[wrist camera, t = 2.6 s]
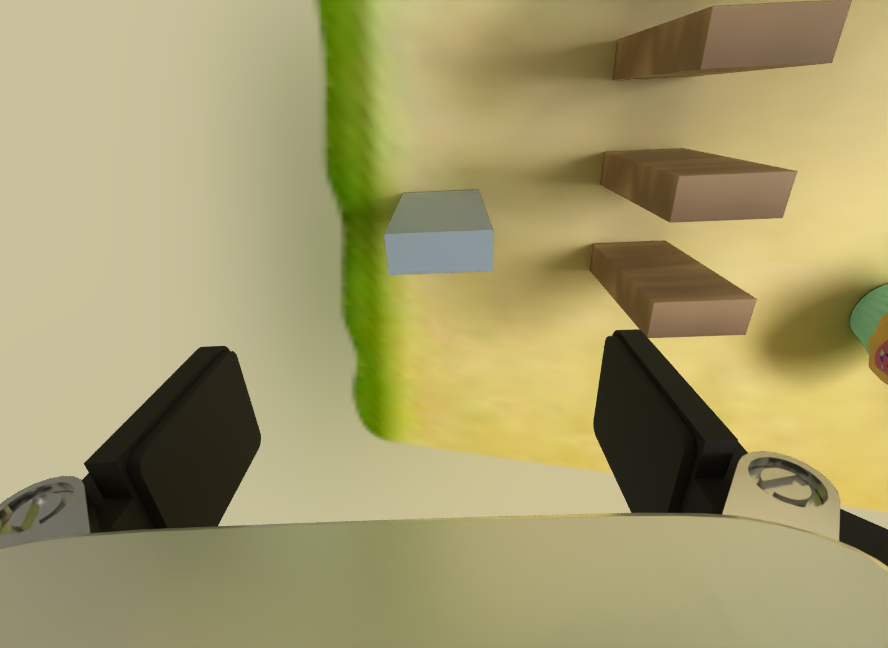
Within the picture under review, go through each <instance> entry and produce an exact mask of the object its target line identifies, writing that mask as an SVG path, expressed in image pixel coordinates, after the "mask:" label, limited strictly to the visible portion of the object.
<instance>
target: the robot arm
mask: <svg viewBox="0 0 888 648" xmlns="http://www.w3.org/2000/svg"><path fill="white" fill-rule="evenodd" d="M593 424H594V432H595V435H596V438H597V440H598V442H599V444H600V446H601V448H602V451H603V453H604V455H605V457H606V459H607V461H608V463H609V466H610V468H611V470H612V472H613V474H614V476H615V478H616V481H617V483H618V485H619V487H620V489H621V491H622V493H623V496H624V498H625V500H626V502H627V504H628V506H629V508H630V511H631V513H611V514H570V515H537V516H536V515H534V516H499V517H464V518H433V519H405V520H404V519H403V520H373V521H346V522H316V523H293V524H292V523H291V524H266V525H242V526H218V524H219V522H220V521H221V519H222V517H223V515H224V513H225V511H226V509H227V507H228V506H229V504H230V502H231V500H232V498H233V496H234V494H235V492H236V490H237V489H238V487H239V485H240V483H241V481H242V479H243V477H244V475H245V473H246V472H247V470H248V468H249V466H250V464H251V462H252V460H253V458H254V456H255V455H256V453H257V451H258V449H259V446H260V442H261V434H260V430H259V427H258V424H257V420H256V417H255V414H254V410H253V407H252V404H251V401H250V397H249V394H248V391H247V387H246V384H245V381H244V377H243V374H242V371H241V368H240V364H239V361H238V358H237V355H236V354H235V352H233V351H230V350H229V349H228V348H227V347H226V346H212V347H200V348H199V349H197V350H196V351H195V352H194V353H193V354H192V355H191V356H190V357H189V358H188V360H186V361H185V362H184V363H183V364H182V365H181V366H180V368H178V369H177V370H176V372H175V373H174V374H172V376H171V377H170V378H169V379H168V380H167V381H166V382H165V383H164V384H163V385H162V386H161V387H160V388H159V389H158V390H157V391H156V392H155V393H154V394H153V395H152V396H151V397H150V398H149V399H148V400H147V401H146V402H145V403H144V404H143V405H142V406H141V407H140V408H139V409H138V410H137V411H136V412H135V413H134V414H133V415H132V416H131V417H130V418H129V419H128V420H127V421H126V422H125V423H124V424H123V425H122V426H121V427H120V428H119V429H118V430H117V431H116V432H115V433H114V434H113V435H112V436H111V437H110V438H109V439H108V440H107V441H106V442H105V443H104V444H103V445H102V446H101V447H100V448H99V449H98V450H97V451H96V452H95V453H94V454H93V455H92V456H91V457H90V458H89V459H88V460H87V461H86V462H85V463H84V465H85V466H86V468H87V470H88V472H89V474H88V475H87V476H86V477H85V478H84V479H83V480H81V479H79V478H76V477H74V476H61V477H55V478H50V479H47V480H44V481H41V482H38V483H35V484H33V485H31V486H29V487H27V488H25V489H23V490H21V491H19V492H17V493H16V494H14V495H12V496H11V497H9V498H8V499H6V500H5V501H3V502H2V503H1V504H0V648H888V530H887V529H885V528H883V527H881V526H879V525H876V524H874V523H872V522H869V521H867V520H865V519H863V518H860V517H858V516H856V515H853V514H851V513H849V512H846V511H844V510H842V509H840V498H839V494H838V491H837V490H836V488H835V487H834V486H833V484H832V483H831V481H829V480H828V479H827V478H826V477H825V476H824V475H823V474H821V473H820V472H819V471H817V470H816V469H814V468H813V467H811V466H809V465H808V464H806V463H804V462H802V461H799V460H797V459H795V458H792V457H790V456H786V455H783V454H779V453H775V452H766V451H758V452H750V453H748V452H747V451H746V450H745V449H744V448H743V447H742V446H741V444H740V443H739V442H738V439H737V438H736V437H735V436H734V435H733V434H732V432H731V431H730V430H729V429H728V428H727V427H726V426H725V425H724V423H723V422H722V421H721V420H720V419H719V418H718V417H717V416H716V414H715V413H714V412H713V411H712V410H711V409H710V408H709V406H708V405H707V404H706V403H705V402H704V401H703V400H702V399H701V397H700V396H699V395H698V394H697V393H696V392H695V391H694V390H693V388H692V387H691V386H690V385H689V384H688V383H687V382H686V381H685V379H684V378H683V377H682V376H681V375H680V374H679V373H678V371H677V370H676V369H675V368H674V367H673V366H672V365H671V364H670V362H669V361H668V360H667V359H666V358H665V357H664V356H663V355H662V353H661V352H660V351H659V350H658V349H657V348H656V347H655V346H654V344H653V343H652V342H651V341H650V340H649V339H648V338H647V336H646V335H645V334H644V333H643V332H642V331H641V330H616V331H615V332H614V333H613V335H612V336H608V337H607V338H606V340H605V346H604V353H603V359H602V366H601V373H600V380H599V387H598V394H597V401H596V408H595V415H594V423H593Z"/></svg>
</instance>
